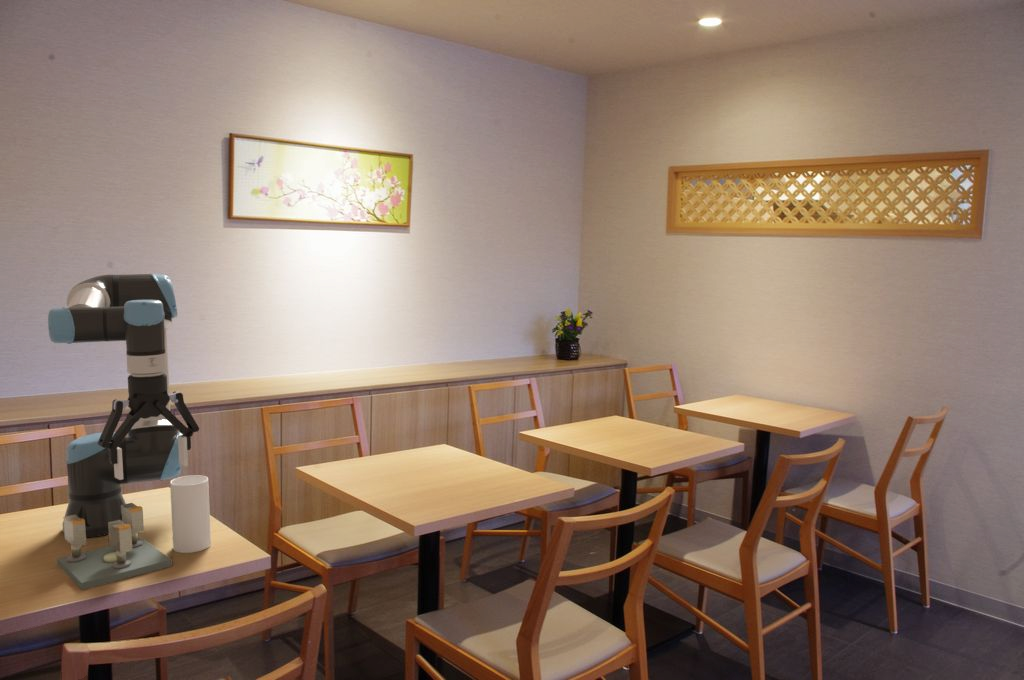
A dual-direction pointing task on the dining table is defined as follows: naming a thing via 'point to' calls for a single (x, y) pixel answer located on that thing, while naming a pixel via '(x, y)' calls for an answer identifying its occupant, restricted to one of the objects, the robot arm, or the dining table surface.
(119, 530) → the knob
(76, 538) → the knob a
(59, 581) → the dining table surface
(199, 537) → the cup
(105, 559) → the board
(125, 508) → the knob
